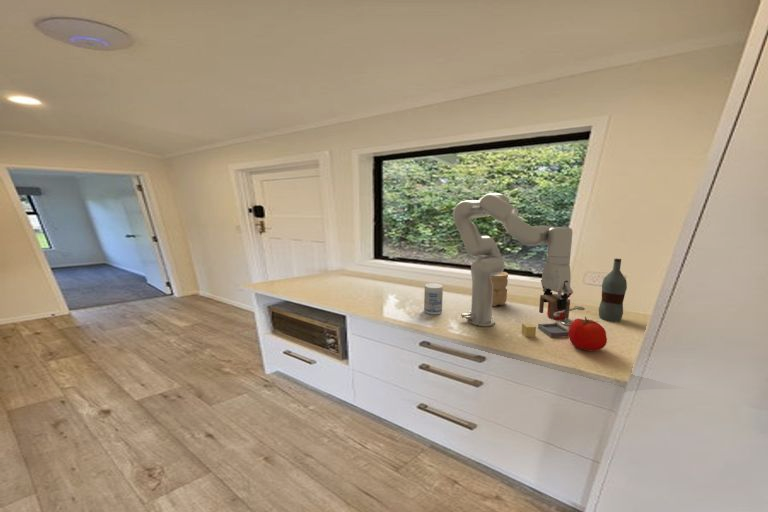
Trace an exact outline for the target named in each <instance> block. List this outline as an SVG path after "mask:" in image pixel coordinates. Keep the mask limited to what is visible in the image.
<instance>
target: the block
mask: <svg viewBox="0 0 768 512" xmlns="http://www.w3.org/2000/svg"><path fill="white" fill-rule="evenodd" d="M521 324H522V325H521V334H522V333H523V334H522V335H523V336H524V337H526V338H528V337H530V338H535V337H536V333H537V326H535V325H534V324H533V323H531V322H526V323H525V322H524V323H521Z"/></svg>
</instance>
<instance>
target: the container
mask: <svg viewBox="0 0 768 512" xmlns="http://www.w3.org/2000/svg"><path fill="white" fill-rule="evenodd" d="M508 279H509V273H508V272H506V271H503V272H502V273H500V274H498V275H495V276H492V277H491V280H492V283H493V301H492V307H497V306H504V305H505V304H506V302H507V297H508V288H506V287H507V286H508V284H509V283H508V282H509V281H508Z"/></svg>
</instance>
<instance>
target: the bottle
mask: <svg viewBox="0 0 768 512" xmlns="http://www.w3.org/2000/svg"><path fill="white" fill-rule="evenodd" d="M621 264H622V259H621V258H614V260H613V266H612V270H611V271H610V272H609V273H608V274H607V275H606V276H605V277H604V278H603V280H602V284H601V301H600V303H599V307H598V317H599V319H601V321H602V320H603V321H605V322H609V323H620V322H621V320H622V318H623V315H624V305H623V304H624V300H625V297H626V296H625V295H626V291H627V289H628V285H627V284H628V283H627V279H626V278H625V276H624V274H623V272H622V271H621Z"/></svg>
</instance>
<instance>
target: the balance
mask: <svg viewBox="0 0 768 512" xmlns="http://www.w3.org/2000/svg"><path fill="white" fill-rule="evenodd" d="M575 310H578V311H585V307H583V306H579V305H577V306H576V305H575V306H574V307H570V308H569V312H572V311H575ZM564 312H565V310H562V311H558V312H555V313H554V316H556V317H559V316H560V313H564ZM568 320H569V318H565V319H564V320H560V324H561V326H565V327H570V326H571V324H572V323H571V322H570V321H568Z"/></svg>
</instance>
